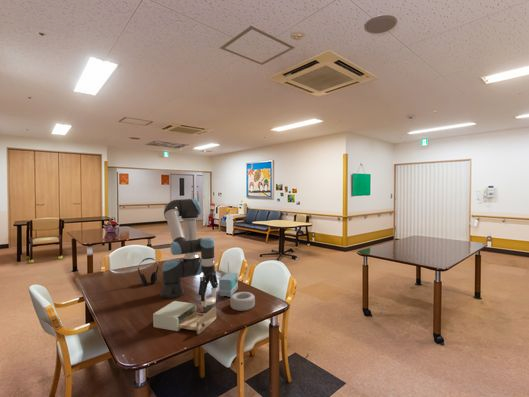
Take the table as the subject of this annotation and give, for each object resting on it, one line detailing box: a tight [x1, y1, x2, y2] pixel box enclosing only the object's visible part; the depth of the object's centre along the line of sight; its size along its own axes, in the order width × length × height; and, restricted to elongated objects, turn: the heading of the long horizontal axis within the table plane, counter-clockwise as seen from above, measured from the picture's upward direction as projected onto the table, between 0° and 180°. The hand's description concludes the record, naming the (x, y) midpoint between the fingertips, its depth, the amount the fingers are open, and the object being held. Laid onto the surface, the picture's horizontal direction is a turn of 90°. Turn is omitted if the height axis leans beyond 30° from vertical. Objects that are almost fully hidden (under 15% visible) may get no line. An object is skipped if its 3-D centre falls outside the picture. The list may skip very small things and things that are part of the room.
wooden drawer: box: [179, 306, 217, 335], centre depth 153 cm, size 16×18×6 cm
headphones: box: [137, 257, 159, 286], centre depth 220 cm, size 9×15×20 cm, turn 123°
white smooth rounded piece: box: [206, 296, 217, 305], centre depth 168 cm, size 8×8×2 cm
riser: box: [202, 303, 216, 314], centre depth 168 cm, size 5×5×6 cm
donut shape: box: [229, 291, 256, 312], centre depth 176 cm, size 15×15×7 cm
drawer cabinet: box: [152, 300, 198, 332], centre depth 157 cm, size 15×18×7 cm
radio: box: [218, 261, 239, 298], centre depth 197 cm, size 16×9×20 cm, turn 168°
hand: (209, 302), depth 168 cm, fingers open, 11 cm apart
